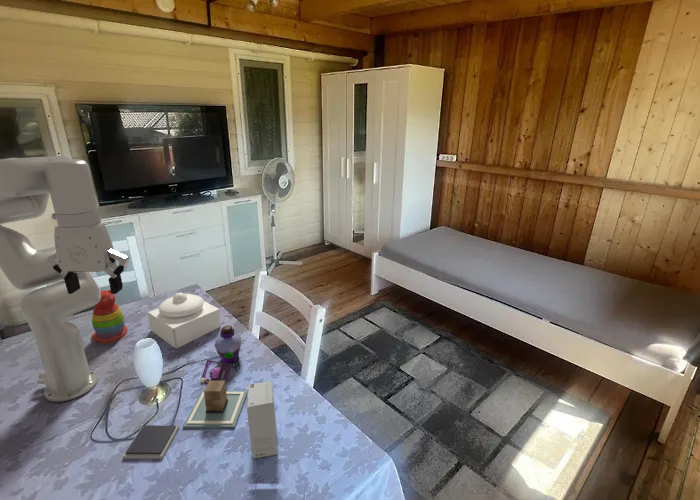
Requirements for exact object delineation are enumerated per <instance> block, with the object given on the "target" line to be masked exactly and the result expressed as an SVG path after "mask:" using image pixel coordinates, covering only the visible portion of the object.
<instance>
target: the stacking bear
mask: <svg viewBox="0 0 700 500" xmlns="http://www.w3.org/2000/svg"><path fill="white" fill-rule="evenodd" d="M100 292H101V299H100V301H99V303H97V304H96V305H94V306H93V307H94V309H93V311H92V315H91V316H92V317H91V325H92V327H93V330H94V332H93V333H92V335H91V340H92V339H93V340H94V341H93V342H95V343H97V342H98V344H111V343H115V342H117V341H119V340H121V339H123V338H124V337H126V335H127V333H128V327H127V325H126V324H125V317H124V314H123V312H122V309H121V308H120V307H119V306H118V305H117V304H116V296H115V294H112V293H111V289H108V290H100Z"/></svg>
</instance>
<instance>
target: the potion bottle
mask: <svg viewBox="0 0 700 500" xmlns="http://www.w3.org/2000/svg"><path fill="white" fill-rule="evenodd" d="M219 335H220V337H219V338H217V339H215V342H214V349H216V350H215V351H216V352H217V354H218V355H219V357H220V360H221V362H222V363H225V364H232V363H235V362H236V361H237V360H238V359H239V354H240V350H241V347H242V346H241V345H242V337H241V336H240V335H237V334H235V329H234V328H233V326H232V325H225V326H223V327H222V326H221V330H220V334H219ZM237 358H238V359H237ZM236 359H237V360H236ZM235 360H236V361H235Z"/></svg>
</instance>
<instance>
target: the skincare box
mask: <svg viewBox="0 0 700 500" xmlns="http://www.w3.org/2000/svg"><path fill="white" fill-rule="evenodd" d="M247 388H248V390H247V392H248V393H247V396H246V398H247V405H246V411H247V419H248V421H247V422H248V428H249V429H248V430H249V436H250V437H249V438H250V443H251V453H252V459H258V458H264V457H272V456H277V455H278V443H277V420H276V410H275V409H276V408H275V400H274V399H275V398H274V391H273V390H274V389H273V381H272V380H271V381H270V380H269V381H263V382H257V383H252V384H248V385H247Z"/></svg>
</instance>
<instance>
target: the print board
mask: <svg viewBox="0 0 700 500" xmlns="http://www.w3.org/2000/svg"><path fill="white" fill-rule="evenodd" d="M226 393H227V399H228V403H227V405H226V408H225V410H224V412H223V413H206V404H205V397H204V390H201V392H200V393H199V395H198V397H197V399H196V401H195V402H194V405H193V407H192V409H191V410H190V412H189V414H188V416H187V418H186V420H185V421H184V424H183V425H182V428H183V429H236V426H237V423H238V420H239V418H240V415H241V413H242V409H243V406H244V404H245V402H246V398H247V394H248V390H226Z"/></svg>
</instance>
